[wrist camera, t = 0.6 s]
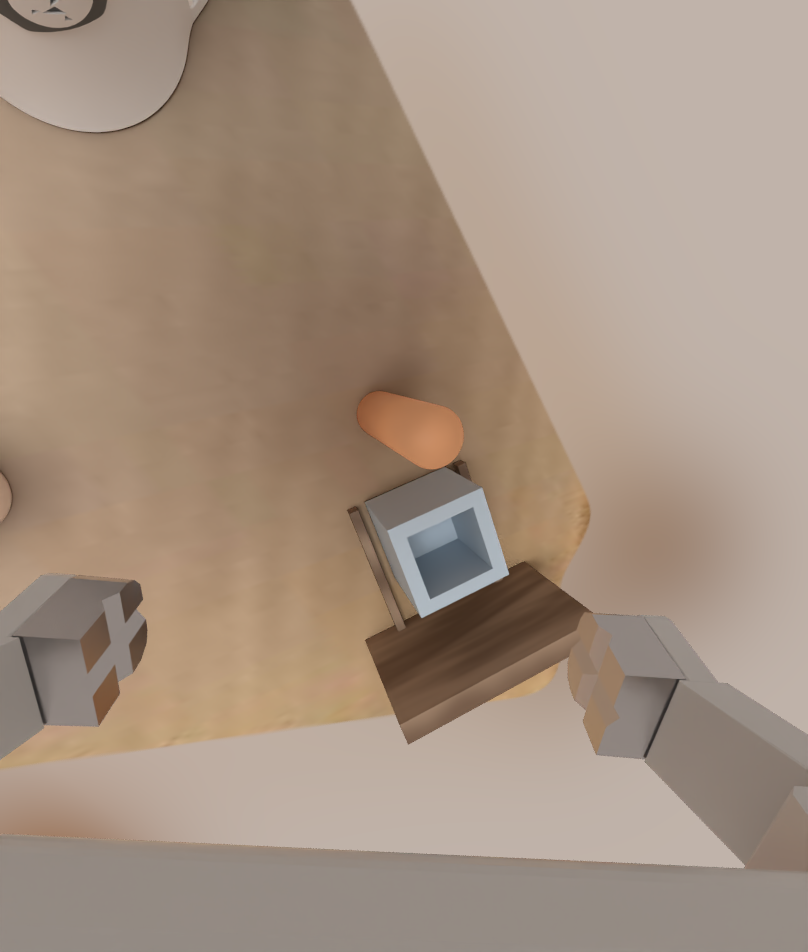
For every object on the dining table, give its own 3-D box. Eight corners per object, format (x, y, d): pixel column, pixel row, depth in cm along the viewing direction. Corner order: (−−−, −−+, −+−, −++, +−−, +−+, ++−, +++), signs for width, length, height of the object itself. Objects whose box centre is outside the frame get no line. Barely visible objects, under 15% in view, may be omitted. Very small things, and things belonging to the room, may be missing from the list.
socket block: (364, 502, 45) (387, 530, 37) (445, 466, 46) (482, 487, 39) (394, 577, 47) (421, 618, 40) (469, 541, 49) (509, 574, 42)
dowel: (350, 400, 43) (393, 419, 30) (392, 384, 43) (452, 395, 30) (366, 443, 44) (415, 479, 31) (407, 426, 45) (471, 454, 32)
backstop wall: (314, 524, 44) (335, 581, 33) (489, 447, 48) (563, 474, 36) (372, 656, 49) (408, 744, 38) (528, 577, 52) (604, 637, 41)
